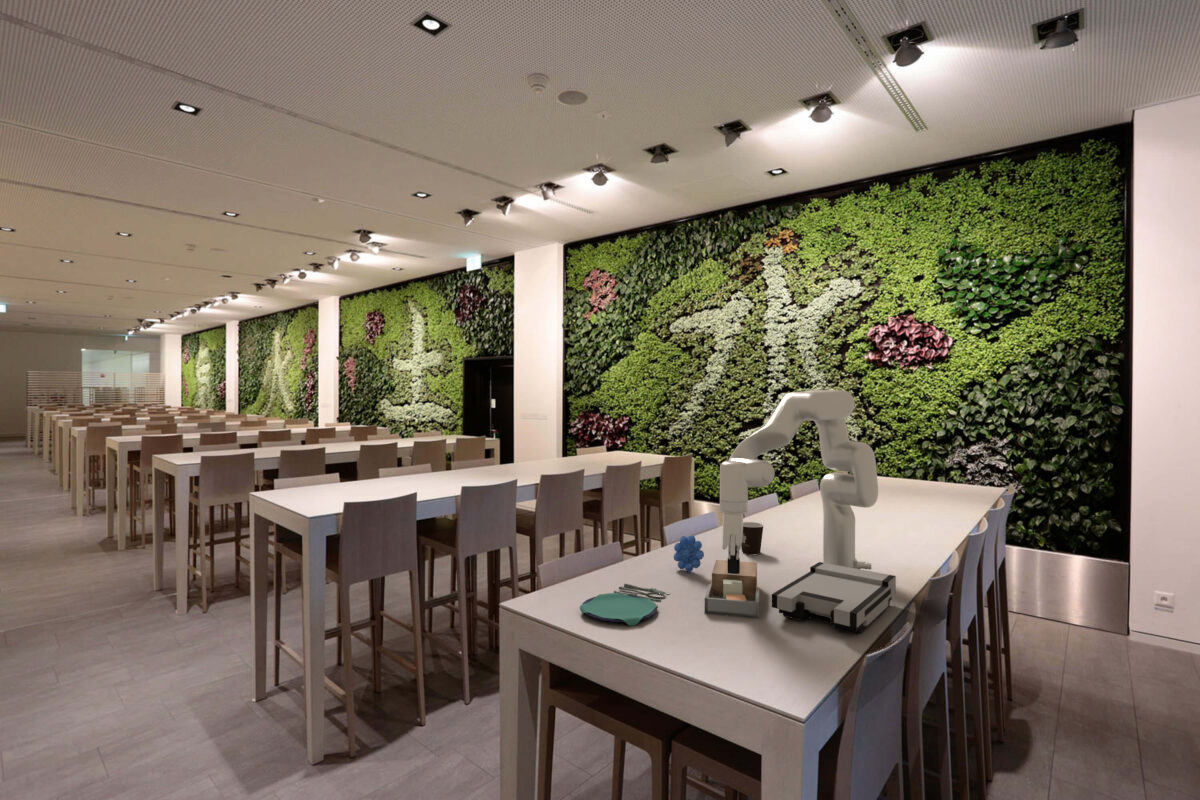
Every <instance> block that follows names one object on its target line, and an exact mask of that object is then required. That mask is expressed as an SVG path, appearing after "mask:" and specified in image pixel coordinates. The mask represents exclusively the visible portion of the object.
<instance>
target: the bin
mask: <svg viewBox="0 0 1200 800" xmlns="http://www.w3.org/2000/svg"><path fill="white" fill-rule="evenodd" d="M705 613H706V614H708V615H715V614H716V615H717V616H726V615H728V616H729V617H736V616H737V618H739V617H740V618H749V619H760V618H759V616H760V587H757V588H756V599H748V598H746V601H742V600H731V599H723V596H713V595H712V583H708V585H707V589H706V593H705V597H704V614H705ZM706 614H705V615H706Z"/></svg>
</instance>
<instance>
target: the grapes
mask: <svg viewBox="0 0 1200 800" xmlns="http://www.w3.org/2000/svg"><path fill="white" fill-rule="evenodd" d="M702 547H703V543H702V541H700V540H696V537H695V536H694V535H693V534H690V535H688V536H685V535H683V536H681V537H680V538H679V541H678V542H676V543H675V544H674V546H673V548H674V549H673V550H674V551H675V553H674V554H673V560H674V561H675V562H677V567H678V569H680V570H685V571H686V572H687V571H688V573H691V572H692V571H693V570H694V568H695V569H698V568H700V566H701V564H702V563H701V560H702V559H703V558H704V557H705V553H704V551H703V550H701V549H702Z"/></svg>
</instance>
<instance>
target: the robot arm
mask: <svg viewBox="0 0 1200 800" xmlns="http://www.w3.org/2000/svg"><path fill="white" fill-rule="evenodd" d="M855 404H856V403H855V399H854V397H853V395H852V394H851V393H850V392H849V391H847V390H842V389H812V390H811V389H810V390H804V391H792V392H788V393H787V394H785V395H784V396H783V398H781V400H780V402H779V403H778V405H777V406H776V407H775V409H774V411H773V412H772V414H771V416H770V417H769V419H768V421H767V422H766V423H765V425H764V426H763V427H762V428H760V429H759V430H757V431H755V432H754V433H752V434H751V435H749V436H747V437H746V438H745V439H744V440H742V441H740V443H739V444H738V445H737V446H736V447H735V449H734V450H733V451H732V452H731V453H732V454H731V455H730V457H729V458H728V460H727V461H723V462H722V463H720V466H719V512H720V513H723V518H722V549H723V551H725V550H727V552H728V553H727V555H728V556H727V561H728V573H731V574H739V573H740V562H741V559H740V550H742V548H741V545H742V537H743V522H744V515H745V514H748V511H749V506H748V505H749V504H748V503H749V497H748V496H749V494H748V493H749V492H748V491H749V490H748V489H749V487H750V488H751V487H752V488H753V487H754V488H755V487H756V488H763V487H767V486H768V485H770V484H771V483H772V482H773V481H774V479H775V475H776V474H775V468H774V467H773V465H772V464H771V463H769V462H768V461H766V460H762V459H756V458H757V457H759V456H760V455H762V454H765V453H767V452H771V451H773V450H778V449H780V448H782V447H784V446H787V445H789V444H790V442H791V441H792V440H793V438H794V437H795V435H796V433H797V431H798V430H799V428H800V427H801V425H802V424H803V422H804V421H813V422H814V424H815V425H816V427H817V431H818V436H819V446H820V456H821V461H822V464H823V466H824V467H826V468H827V469H829V470H834V471H840V472H832V473H831V472H830V473H827V474H825V475H824V476H823V477H822V478H821V481H820V483H819V492H820V498H821V501H822V511H823V512H822V514H823V518H822V519H823V522H822V523H823V527H822V530H823V533H822V535H823V536H822V537H823V538H822V539H823V541H822V543H823V544H822V545H823V546H822V547H823V548H822V549H823V550H822V552H823V553H822V556H823V557H822V560H823V561H822V563H828V564H833V565H839V566H844V567H849V568H855V569H860V570H868V571H870V570H872V563H869V562H866V561H859V560H857V558H856V516H855V513H854V511H853V508H852V507H851V506H853V507H857V508H864V509H865V508H866V509H867V508H871V507H873V506H874V505H876V503H877V500H878V498H879V485H878V484H879V482H878V472H877V463H876V462H877V461H876V456H875V453H874V450H873V448H872V447H871V446H870V445H869V444H868V443H865V442H862V441H854V440H852V441H851V439H850V438H849V433H848V425H847V422H846V420H845V419H847V418H848V417H849V416H851V415H852V414H853V412H854V410H855ZM841 472H842V473H841ZM843 472H847V473H843ZM849 473H852V474H849Z"/></svg>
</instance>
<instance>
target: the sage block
mask: <svg viewBox="0 0 1200 800" xmlns="http://www.w3.org/2000/svg"><path fill="white" fill-rule="evenodd" d="M726 594H736V595H742V580H729V579H723V599H726Z"/></svg>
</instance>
